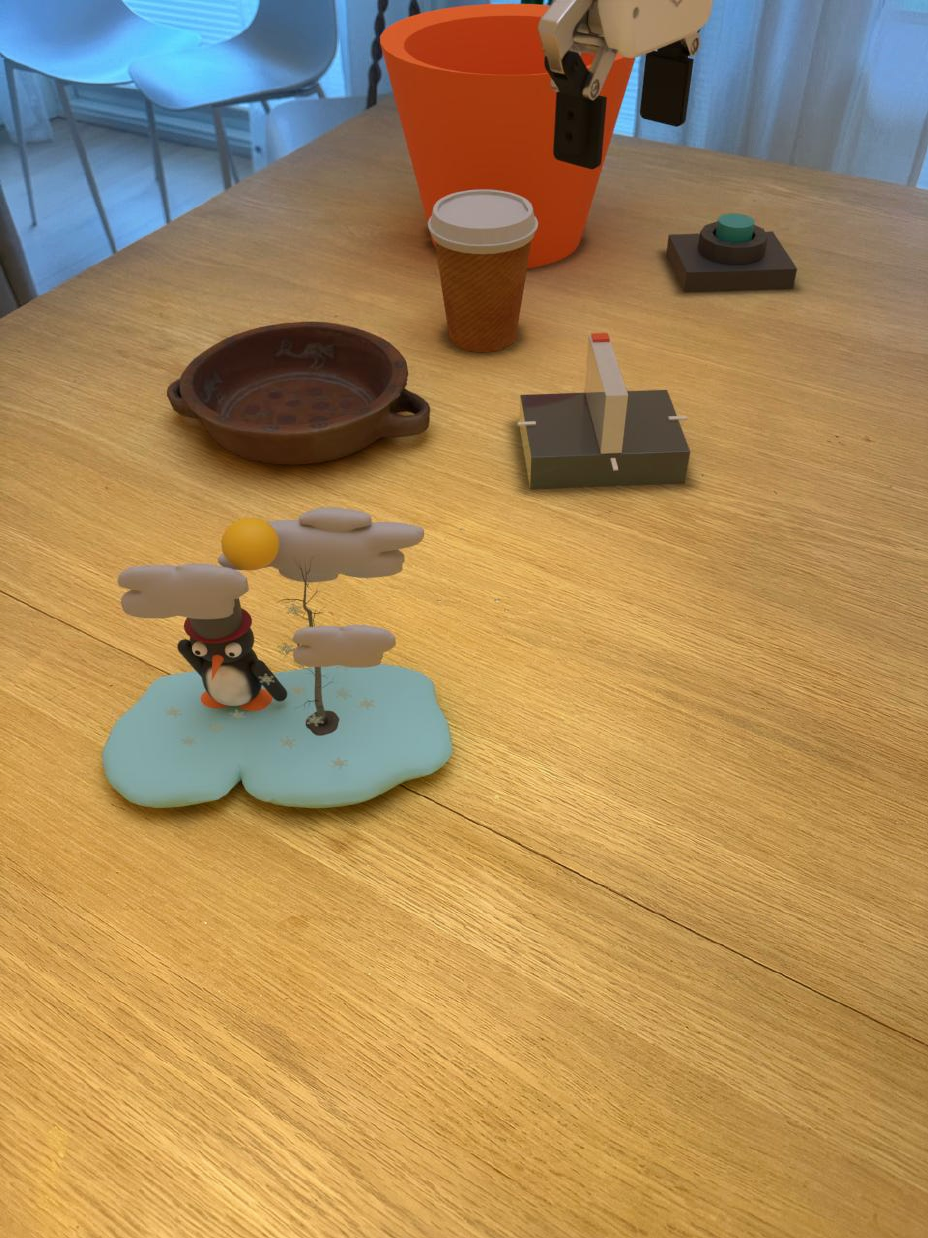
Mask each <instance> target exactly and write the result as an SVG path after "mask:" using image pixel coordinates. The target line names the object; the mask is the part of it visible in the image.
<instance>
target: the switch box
mask: <svg viewBox="0 0 928 1238" xmlns="http://www.w3.org/2000/svg"><path fill="white" fill-rule="evenodd" d="M716 228H717V221H714V222H711V223H707V224H705V225H704V226H703V227H702V228H701V230H699V233H676V234H675V233H673V234H668V237H667V245H666V252H665V254H666V257H667V259H668V262H669V264H670V266H671V268H672V270H673V272H674V275H675V277H676V280H677V281H678V284H679V286H680V288H681V290H682V293H715V292H747V291H749V292H751V291H778V290H780V291H781V290H793V289H794V285H795V281H796V278H797V277H796V276H797V271H798V268H797V266H796V264H795V263H794V262H793V260H792V259H791V257H790V255H789V254H788V252H787V251H786V249H785V247H784V246H783V245H782V243H781V241H780V240H779V239H778V237H777V235H776V234H775V233H774V231H766V230H765V229H764V228H762V227H760V226H758V225H756V224H754V229H753V235H752V240H750V241H747V242H728V241H723V240H721V239H719V238H717V237H715V234H716Z"/></svg>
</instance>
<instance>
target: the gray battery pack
mask: <svg viewBox="0 0 928 1238" xmlns="http://www.w3.org/2000/svg"><path fill="white" fill-rule="evenodd" d="M587 341H588V342H587V353H586V364H585V365H586V366H585V378H584V392H583V393H585V395H586V399H587V403H588V407H589V411H590V414H591V418H592V422H593V426H594V430H595V433H596V437H597V441H598V445H599V449H600V452H601V454H608V453H622V446H623V437H624V428H625V419H626V410H627V401H628V393H627V391H628V390H627V387H626V384H625V381H624V377H623V373H622V371H621V369H620V365H619V363H618V359H617V356H616V353H615V350H614V347H613V343H612V340H611V336H610V334H609V333H608V332H594V333H590V335H588V339H587Z"/></svg>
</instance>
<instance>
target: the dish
mask: <svg viewBox="0 0 928 1238" xmlns="http://www.w3.org/2000/svg"><path fill="white" fill-rule="evenodd" d="M408 377H409V368H408V364H407V360H406V358H405V357H404V355H403V354H402V353H401V351H400V350H399V349H397V348H396V347H395V346H394V345H393V344H392V343H391V342H389V341H387V340H386V339H384V338H382V337H380V336H378V335H376V334H374V333H372V332H369V331H367V330H363V329H360V328H357V327H353V326H349V325H344V324H340V323H334V322H328V321H295V322H294V321H293V322H282V323H281V322H280V323H277V324H269V325H264V326H259V327H256V328H252V329H247V330H244V331H242V332H238V333H235V334H233V335H230V336H228V337H226V338H223V339H222V340H220V341H218V342H216V343H215V344H212V345H211V346H210V347H208V348H207V349H205V350H204V351H203V352H201V353H200V354H198V355H197V356H196V357H194V359H193V360H191V362H189V364H188V365H187V366H186V368H185V369H184V370H183V371H182V373H181V375H180V377H179V378H177V379H176V380H174V381H173V382H171V383H170V384H169V386H167V389H166V397H167V399H168V401H169V403H170V406H171V407H172V410H173V411H174V412H176V413H177V414H178V415H181V416H183V417H187V418H191V419H195V420H197V421H198V420H199V421H201V423H202V424H203V427H204V428H205V429H206V431H207V432H208V434H209V435H210V436H211V437H212V439H214V440H215V442H216V443H218V444H219V445H220V446H221V447H222V448H223V449H226V450H227V451H229V452H231V453H233V454H234V455H237V456H240V457H242V458H244V459H247V460H251V461H255V462H261V463H268V464H275V465H276V464H277V465H306V464H307V465H308V464H315V463H321V462H327V461H328V462H329V461H333V460H337V459H340V458H345V457H347V456H350V455H352V454H354V453H357V452H360V451H361V450H363V449H365V448H367V447H369V446H370V445H372V444H374V443H375V442H376V441H378V440H379V439H380V438H403V437H413V436H417V435H421V434H423V433H424V432H426V431H427V430H428V429H429V426H430V421H431V405H430V404H429V403H428V401H427V400H426V399H424V398H423V397H422V396H420V395H419V394H416V393H415V392H412V391H410V390H408V389H407V388H406V387H407V385H408ZM399 413H410V414H408V415H403V414H399Z"/></svg>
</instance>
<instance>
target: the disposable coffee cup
mask: <svg viewBox="0 0 928 1238" xmlns="http://www.w3.org/2000/svg"><path fill="white" fill-rule="evenodd" d="M427 227H428V231H429V233H430V232H431V234H430V236H431V235H432V237H433V239H434V241H435V246H434V248H435V253H436V260H437V267H438V273H439V280H440V286H441V293H442V299H443V300H442V301H443V306H444V313H445V318H446V325H447V331H448V338H449V340H450V342H451V343H452V345H454V346H455V347H457V348H459V349H460V350H464V351H468V352H472V353H473V352H474V353H492V352H498V351H501V350H504V349H507V348H509V347H510V346H511V345H513V344H514V343H515V342H516V339H517V333H518V328H519V321H520V314H521V308H522V303H523V295H524V290H525V283H526V277H527V272H528V268H527V266H528V259H529V253H530V247H531V240H532V238H533V237H534V233H535V231H536V230H537V227H538V221H537V219H536V217H535V216H534V212H533V207H532V204H531V203H530V202H529V201H528V200H527V199H525V198H523V197H521V196H519V195H516V194H513V193H510V192H505V191H499V190H468V191H462V192H457V193H453V194H450V195H448V196H445V197H443V198H441V199H440V200H439V201H437V202H436V204H435V205H434V207H433V212H432V216H431V217H430V219H429V221H428V223H427Z"/></svg>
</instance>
